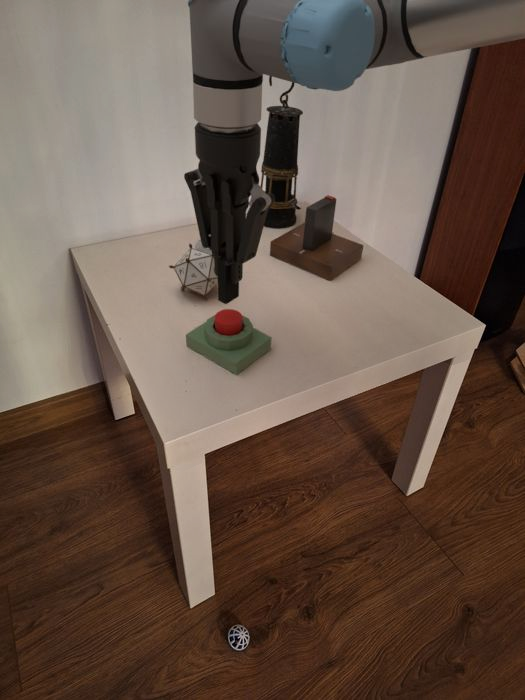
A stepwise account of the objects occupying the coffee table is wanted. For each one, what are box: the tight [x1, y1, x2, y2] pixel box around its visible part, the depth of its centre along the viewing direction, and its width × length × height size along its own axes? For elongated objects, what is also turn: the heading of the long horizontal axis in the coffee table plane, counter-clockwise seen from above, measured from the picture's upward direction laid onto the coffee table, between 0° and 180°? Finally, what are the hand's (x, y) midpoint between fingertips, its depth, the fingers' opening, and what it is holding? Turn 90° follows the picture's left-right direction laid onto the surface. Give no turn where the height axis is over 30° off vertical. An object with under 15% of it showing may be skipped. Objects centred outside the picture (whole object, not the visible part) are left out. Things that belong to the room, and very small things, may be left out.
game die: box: [168, 242, 218, 302], centre depth 89 cm, size 9×8×10 cm
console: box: [269, 222, 364, 282], centre depth 102 cm, size 14×11×3 cm
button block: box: [185, 314, 272, 376], centre depth 79 cm, size 10×8×4 cm
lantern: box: [260, 76, 304, 229], centre depth 106 cm, size 9×9×30 cm
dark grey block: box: [303, 194, 337, 251], centre depth 98 cm, size 7×2×8 cm, turn 142°
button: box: [214, 308, 243, 336], centre depth 77 cm, size 4×4×2 cm
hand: (228, 298), depth 74 cm, fingers closed
